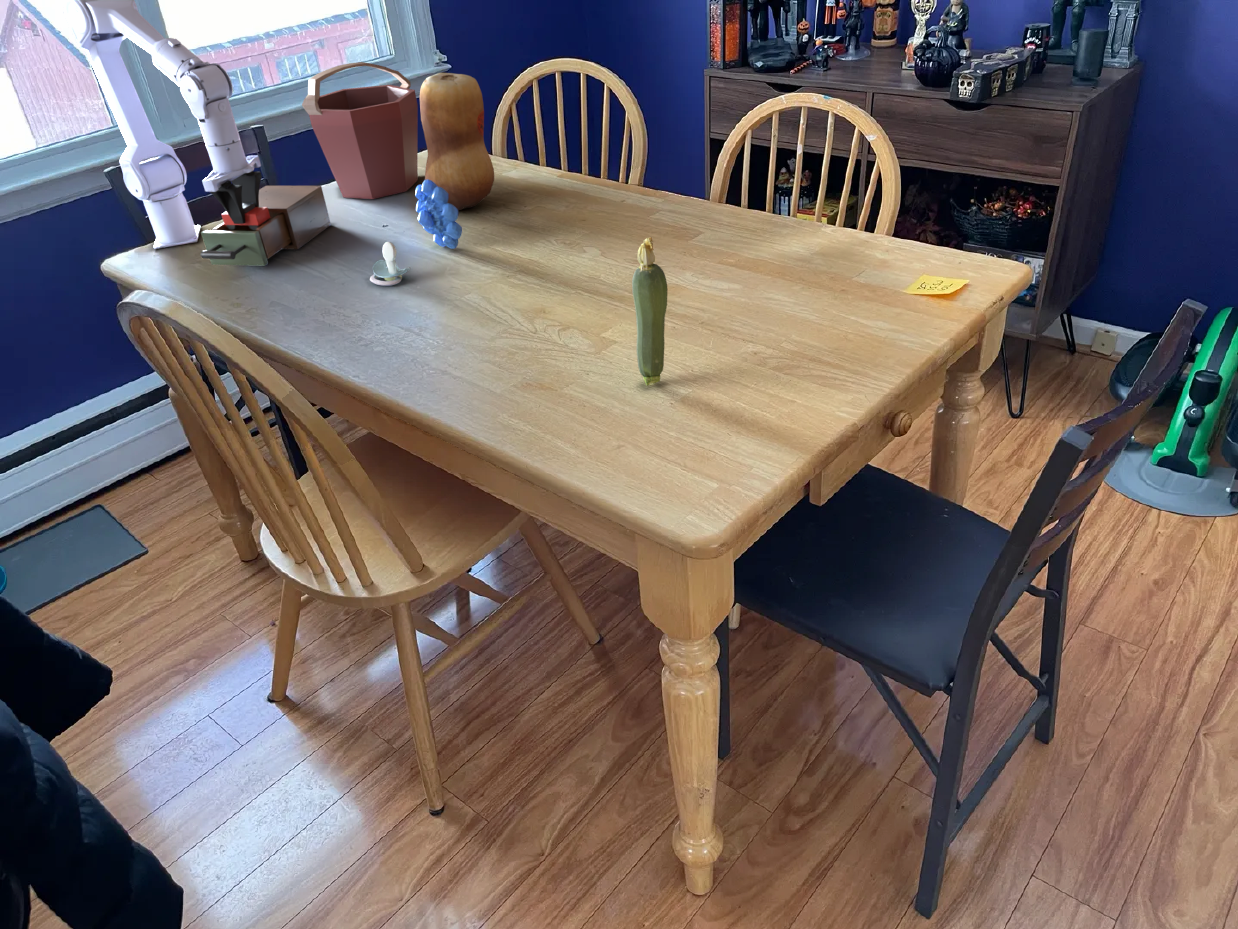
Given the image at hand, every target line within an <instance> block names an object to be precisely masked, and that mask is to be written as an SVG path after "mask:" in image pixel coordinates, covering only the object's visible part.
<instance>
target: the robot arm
mask: <svg viewBox="0 0 1238 929" xmlns="http://www.w3.org/2000/svg"><path fill="white" fill-rule="evenodd" d="M63 8H64V9H63V14H64V17H65V19H66V22H67V24H68V26H69V28H70V30H71V33H72V35H73V38H74V40H75V41H76V43H77V46H78V48H79V49H82V50H84V51H85V52H86V54H87V57H88V60H89V61H90V64H91V66H92V68H93V70H94V73H95V75H96V78H97V79H98V82H99V84H100V86H101V88H102V92H103V94H104V95H105V98H106V100H107V102H108V105H109V107H110V109H111V111H112V113H113V114H112V115H113V116H114V118H115V120H116V122H117V125H118V128H119V130H120V132H121V134H122V136H123V138H124V141H125V143H126V145H127V147H126V148H125V150H124V152H123V153H122V155H121V156H120V158H119V161H118V163H119V165H120V168H121V171H122V177H123V182H124V185H125V187H126V188H127V191H128V192H129V193H130V194H131V195H132V196H134V197H135V198H136V199H137V200H139V201H142V202H143V206H144V209H145V211H146V214H147V216H148V219H149V222H150V225H151V227H152V230H153V232H154V235H155V241H154V244H153V249H155V250H157V249H163V248H168V247H169V248H170V247H175V246H181V245H186V244H193V243H197V242H198V241H199V240H198V239H199V235H200V233H201V232H200V231H201V228H202V227H201V225H200V224H197V225H195V223H194V220H193V217H192V213H191V211H190V210H191V209H190V208H189V205H188V202H187V199H186V197H185V196H184V194H183V192H184V191H185V190H186V188H185V185H186V183H187V180H188V179H187V178H188V175H187V170H186V168H185V166H184V164H183V162H182V161H181V160H180V158H179V157H178V156H177V154H176V152H175V149H174V148H173V146H171V145H170V144H167V143H164V142H163V141H161V140H159V139H158V138H157V137H156V135H155V133H154V132H155V131H154V130H153V128H152V125H151V123H150V120H149V118H148V116H147V114H146V111H145V109H144V106H143V104H142V101H141V99H140V97H139V95H138V92H137V89H136V88H135V85H134V83H133V80H132V78H131V76H130V74H129V71H128V68H127V66H126V64H125V62H124V59H123V56H122V55H121V52H120V49H121V45H122V42H123V41H124V40H126V39H129V40H130V41H132V42H133V43H135V44H136V45H137V46H139V47H140V48H142V49H143V50H145V51H146V52H147V53H148V54H150V55H151V59H152V64H153V65H154V66H155V67H156V68H157V69H158V70H160V72H162V74H164V75H165V76H167V77H168V78H169V79H170V80H171V81H172V82H174V83H175V84H176V85H177V86H178V87H180V88H179V91H180V93H181V96H182V97H183V99H184V100H185V102H186V103H187V104H188V106H189V108H190V111H191V114H192V115H193V117H194V118H196V119H197V122H198V125H199V127H200V128H199V129H200V132H201V134H202V137H203V140H204V143H205V148H206V150H207V153H208V156H209V160H210V162H211V166H212V170H211V172H210V173H209V174H208V176H207V177H205V178H204V179H202V180H201V182H202V185H203V188H204V192H205V193H206V192H207V193H208V192H209V193H210V194H211V195H212V196H213V197H214V198H216V200H217V201H218V202H219V203H220V204H221V205H222V207H223V209H224V210H225V212H226V211H227V213H228V214H229V216H230V218H231V219H232V221H233V223H234V224H244V223H246V221H245V213H244V209H243V204H242V203H254V205H255V207H259V190H260V186H261V181H262V177H263V176H262V173H261V171H257V170H256V171H254V170H255V169H257V168H260V167H261V166H262V163H261V161H260V157H259V155H257V154H256V155H246V153H245V151H244V147H243V144H242V141H241V137H240V133H239V130H238V127H237V123H236V120H235V117H234V113H233V109H232V106H231V103H230V101H229V100H230V99H231V98H232V96H233V93H234V92H233V90H234V89H233V82H232V80H231V77H230V76H229V74H228V72H227V71H226V70H225V69H224V68H223V67H222V66H221V65H220V64H219V63H216V62H212V63H210V62H209V61H203V60H202V59H200V57H198V56H197V55H196V54H195V53H193V52H192V51H191V50H190V49H188V47H186V46H185V45H184V44H182V42H181V41H180V40H178V38H174V37H166V38H165V37H164V36H163V35H162V34H161V33H160V32H159V31H158V30H157V29H156V28H155V27H154V26H153V25H152V24H151V23H149V21H148V20H146V19H145V17H143V15H142V14H140V12H139V8H138V5H137V3H136V1H135V0H65V2H64V7H63Z"/></svg>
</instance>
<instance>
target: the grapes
mask: <svg viewBox="0 0 1238 929" xmlns="http://www.w3.org/2000/svg"><path fill="white" fill-rule="evenodd" d="M414 191H415V194H414V195H415V198H416V199H417V202H416V203H415V211H416V212H417V214H418V216H417V222H418V223H419V225H420V226H422V227H423V230H424V231H425V232H426V233H428V234H429V235H433V242H434V243H435V244H436V245H438V246H439V247H442V248H445V247H447V248H449V249H451V250H454V249H456V248H457V247H458V246H459V239H460V238H461V237H462V234H463V226H461V224H460V223H458V222H457V220H458V218H459V210H458V209H457V208H456V207H455V206H453V205H452V204H449V203H447V202H448V198H449V197H448V193H447V191H446V190H444V189H443V188H441V187H438V186H437V185H436V184H435V183H434V182H433V181H431V180H428V179H427V180H425V179H424V180H423V182H422V184H418V185H417V186H416V187H415V190H414Z"/></svg>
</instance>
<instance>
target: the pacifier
mask: <svg viewBox="0 0 1238 929" xmlns="http://www.w3.org/2000/svg"><path fill="white" fill-rule="evenodd" d="M381 251H382V257H383V259H380V260H377V261H375V262H374V263H373V265H372V271H373V273H374V274H372V275H371V276H369V281H370V283H372V284H375V285H378V286H384V287H385V286H393V285H397V284H399V283H400V282H401V281H402V280H403V275H404V274H406V273H408V272H409V271H410V270H411V269H412V268H411V266H408V267H406V268H401V269H400V267H399V266H398V265H397V262H396V258H397V253H398V251H397V247H396V246H395V244H394V243H392V242H391V241H386V242H384V243H383V245H382V250H381ZM377 278H382V279H384V280H379V279H377Z"/></svg>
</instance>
